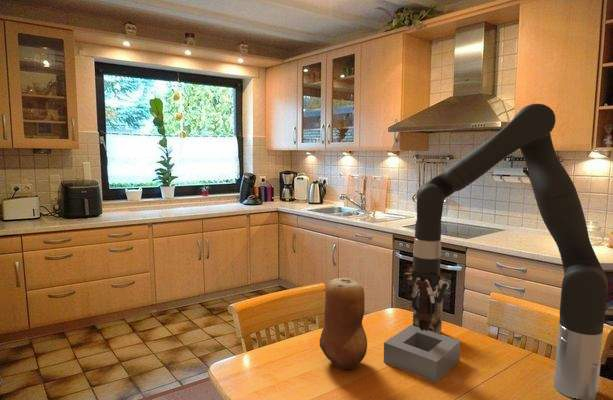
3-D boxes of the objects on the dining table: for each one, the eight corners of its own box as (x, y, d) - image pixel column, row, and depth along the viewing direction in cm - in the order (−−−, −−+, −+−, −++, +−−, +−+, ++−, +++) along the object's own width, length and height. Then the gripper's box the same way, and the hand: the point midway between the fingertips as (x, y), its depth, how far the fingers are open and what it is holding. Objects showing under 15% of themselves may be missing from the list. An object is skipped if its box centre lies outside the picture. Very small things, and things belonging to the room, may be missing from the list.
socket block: (459, 360, 121) (460, 340, 121) (435, 383, 110) (436, 361, 109) (409, 342, 132) (410, 324, 131) (383, 361, 120) (384, 342, 119)
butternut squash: (375, 363, 119) (378, 279, 116) (350, 383, 109) (352, 292, 106) (336, 347, 128) (337, 270, 125) (309, 365, 118) (310, 281, 115)
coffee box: (429, 340, 133) (431, 292, 131) (411, 334, 138) (413, 288, 135) (442, 331, 140) (444, 285, 138) (424, 326, 144) (426, 281, 142)
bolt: (432, 325, 122) (434, 276, 120) (435, 333, 117) (438, 282, 115) (412, 324, 122) (414, 276, 120) (414, 332, 117) (416, 281, 115)
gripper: (457, 256, 114) (453, 314, 117) (410, 247, 124) (408, 301, 126) (445, 261, 109) (442, 323, 111) (397, 252, 118) (395, 309, 121)
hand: (424, 311), depth 119 cm, fingers closed on bolt, 4 cm apart
